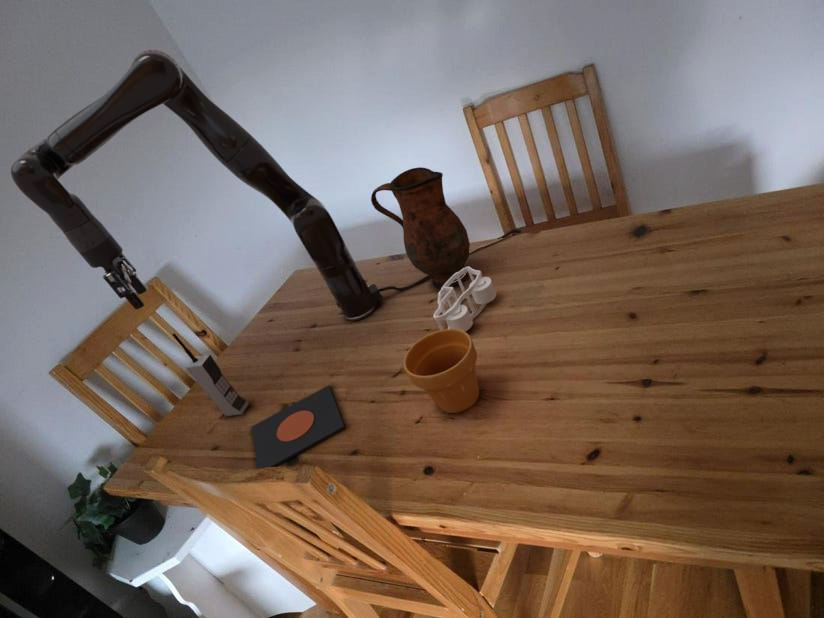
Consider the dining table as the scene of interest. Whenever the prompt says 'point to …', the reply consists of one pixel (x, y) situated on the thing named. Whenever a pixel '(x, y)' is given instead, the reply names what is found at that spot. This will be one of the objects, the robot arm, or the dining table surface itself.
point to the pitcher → (428, 225)
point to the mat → (297, 428)
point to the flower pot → (445, 369)
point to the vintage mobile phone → (214, 383)
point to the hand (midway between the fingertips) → (141, 299)
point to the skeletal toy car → (459, 313)
